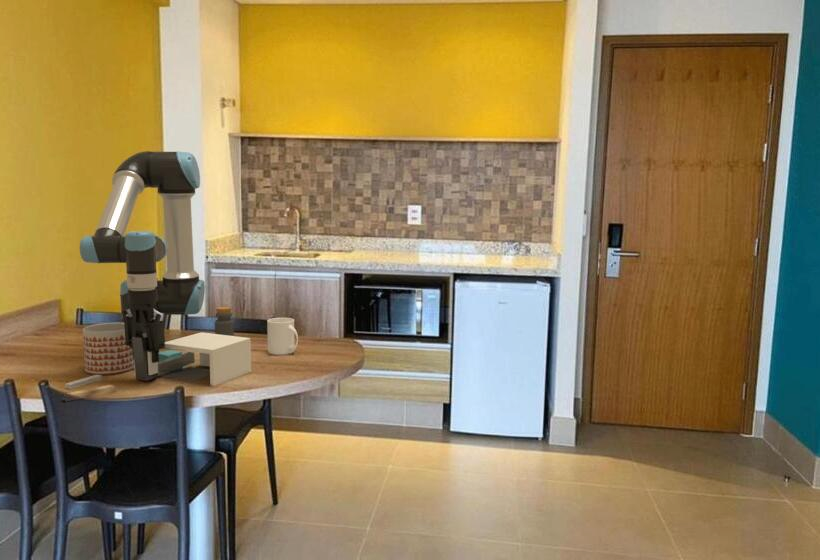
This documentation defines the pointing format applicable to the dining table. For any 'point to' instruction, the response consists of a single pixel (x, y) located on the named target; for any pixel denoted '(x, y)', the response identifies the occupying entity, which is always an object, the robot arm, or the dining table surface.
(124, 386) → the dining table surface
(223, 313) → the bottle
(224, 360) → the cubby
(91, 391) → the oak batten
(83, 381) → the grey stick
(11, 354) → the dining table surface
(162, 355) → the block
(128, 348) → the planter
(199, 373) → the mat
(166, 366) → the dark grey l-shaped block
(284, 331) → the mug
